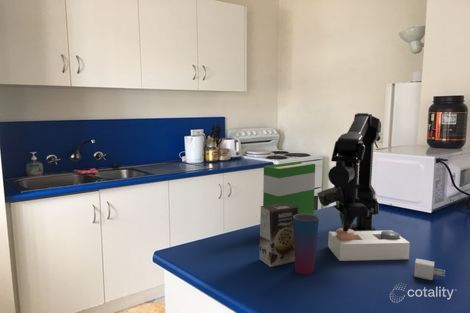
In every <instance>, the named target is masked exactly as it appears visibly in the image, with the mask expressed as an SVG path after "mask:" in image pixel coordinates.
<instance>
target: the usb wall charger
mask: <svg viewBox="0 0 470 313" xmlns="http://www.w3.org/2000/svg"><path fill="white" fill-rule="evenodd" d="M413 273H414V274H413V277H414V278H419V279H424V280H428V281H434V275H436V276H442V277H446V274H445V273H446V270H445V269H440V268H435V261H430V260H427V259H421V258H415V261H414V272H413Z"/></svg>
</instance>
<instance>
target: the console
mask: <svg viewBox="0 0 470 313" xmlns="http://www.w3.org/2000/svg"><path fill="white" fill-rule="evenodd" d="M353 231H354V240H339V239H338V238H337V236H336V231H328V243H327V244H328V245H327V247H328V248H329V249H330V251H331V252H332V253H333V255H334V256H335V257H336V258H337V260H338V261H341V262H342V261H344V262H345V261H347V262H348V261H386V260H387V261H388V260H393V261H394V260H409V259H410V246H411V245H410V244H411V243H410V241H408V240H407V239H405V238H404V237H402V236H401V235H400V237H399V238H400V239H382V240H381V232H382V231H383V230H376V231H358V230H353ZM390 231H393V232H395V231H394V230H390Z"/></svg>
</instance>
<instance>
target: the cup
mask: <svg viewBox="0 0 470 313" xmlns="http://www.w3.org/2000/svg"><path fill="white" fill-rule="evenodd" d="M319 221H320V217H319V216H318V215H316V214H314V215H313V214H296V215H294V216H293V228H294V254H295V262H294V271H295V272H296V273H297V274H300V275H305V276H306V275H312V274H314V272H315V262H316V255H317V254H316V252H317V243H318V241H317V240H318V234H319V232H318V231H319Z"/></svg>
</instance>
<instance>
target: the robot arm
mask: <svg viewBox="0 0 470 313" xmlns="http://www.w3.org/2000/svg"><path fill="white" fill-rule="evenodd" d="M353 117H354V118H353V122H352V123H351V125H350V127H349V129H348V131H347V132H346V133H343V134H341V135H340V136H339V137H338V138H337V140H336V141H335V143H334V147H333V151H332V155H331V158H330V161H331V162H335V165H334V166H333V167H332V166H331V168H330V169H329V171H328V173H327V174H328V175H327V177H328V181H329V182H330V183H331V184H332V185H333V187H330V188H327V189H324V190H322V191H319V192H317V197H318V200H319V203H320V204H321V205H322V206H323V207H327V206H329V205H331V204H334V203H335V204H334V205H333V206H332V207H333V208H334V209H336V211H337V212H338V213H339V218H340V223H341V226H342V227H341V228H343V230H344V231H348V230H349V229H351V226H352V227H353V228H354V229H355V230H356V231H377V230H376V228H375V227H374V226H373V216H376V215H379V213H380V212H379V211H380V206H379V202H378V198H377V197H376V191H375V188H374V187H373V186H372V179H373V178H372V177H373V157H374V145H375V143H376V141H377V140H378V139H379V137H380V134H381V131H382V122H381V119H380V118H377V116H374V115H373V114H372V113H368V112H366V113H365V112H362V113H361V112H357V113H355V114H354V116H353ZM354 222H355V223H354Z"/></svg>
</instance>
